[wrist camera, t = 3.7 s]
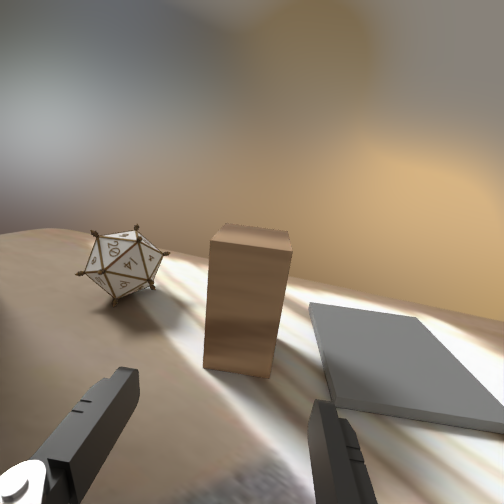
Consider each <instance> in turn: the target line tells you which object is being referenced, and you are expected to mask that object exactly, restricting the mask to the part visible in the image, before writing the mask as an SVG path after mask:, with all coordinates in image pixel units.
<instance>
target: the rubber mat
mask: <svg viewBox="0 0 504 504" xmlns="http://www.w3.org/2000/svg"><path fill="white" fill-rule="evenodd" d="M308 310H309V313H310V317H311V321H312V325H313V329H314V333H315V336H316V340H317V344H318V348H319V352H320V356H321V360H322V363H323V367H324V371H325V375H326V379H327V383H328V386H329V390H330V394H331V398H332V402H333V403H334V404H335V407H340V408H346V409H352V410H359V411H365V412H371V413H377V414H383V415H389V416H396V417H402V418H408V419H414V420H420V421H426V422H433V423H439V424H445V425H451V426H457V427H463V428H470V429H476V430H482V431H488V432H494V433H500V434H504V406H503V405H502V404H501V403H500V402H499V401H498V400H497V399H496V398H495V397H494V396H493V395H492V394H491V393H490V392H489V391H488V390H487V389H486V388H485V387H484V386H483V385H482V384H481V383H480V382H479V381H478V380H477V379H476V378H475V377H474V376H473V375H472V374H471V373H470V372H469V371H468V370H467V369H466V368H465V367H464V366H463V365H462V364H461V363H460V362H459V361H458V360H457V359H456V358H455V356H454V355H453V354H452V353H451V352H450V351H449V350H448V349H447V348H446V347H445V346H444V345H443V344H442V343H441V342H440V341H439V340H438V339H437V338H436V337H435V336H434V335H433V334H432V333H431V332H430V331H429V330H428V329H427V328H426V327H425V326H424V325H423V324H422V323H421V322H420V321H419V320H418V319H417V318H416V317H409V316H402V315H395V314H388V313H381V312H374V311H368V310H361V309H354V308H347V307H340V306H333V305H326V304H319V303H312V302H310V304H309V308H308Z"/></svg>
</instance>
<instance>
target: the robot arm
mask: <svg viewBox="0 0 504 504" xmlns="http://www.w3.org/2000/svg"><path fill="white" fill-rule="evenodd" d="M139 396H140V387H139V372H138V369H133V368H127V367H119V368H118V369H117V370H116V371H115V372H114V374H113V375H112V376H111V378H110V379H108V378H103V379H102V380H100V381H99V382H97V383H96V384H95V385H93V386H92V387H91V388H90V389H89V390H88V391H87V392H86V393H85V395H84V396H83V397H82V398H81V400H80V402H78V403H77V404H76V405H75V406H74V408H73V409H72V411H71V412H69V414H68V415H67V416H66V417H65V418H64V419H63V421H62V422H61V423H60V424H59V425H58V427H57V428H56V429H55V430H54V431H53V432H52V434H51V435H50V436H49V437H48V438H47V440H46V441H45V442H44V443H43V444H42V445H41V447H40V448H39V449H38V450H37V451H36V453H35V454H34V455H33V456H32V457H31V458H30V459H29V460H28V461H25V462H23V463H20V464H18V465H16V466H14V467H12V468H11V469H9V470H8V471H6V472H5V473H4V474H3V475H1V476H0V504H80V503H81V501H82V499H83V498H84V496H85V494H86V493H87V491H88V489H89V487H90V486H91V484H92V482H93V481H94V479H95V477H96V475H97V474H98V472H99V470H100V468H101V467H102V465H103V463H104V462H105V460H106V458H107V456H108V455H109V453H110V451H111V450H112V448H113V446H114V444H115V443H116V441H117V439H118V438H119V436H120V434H121V432H122V431H123V429H124V427H125V426H126V424H127V422H128V420H129V419H130V417H131V415H132V413H133V412H134V410H135V408H136V406H137V403H138V400H139ZM308 444H309V452H310V459H311V467H312V475H313V483H314V490H315V498H316V504H378V503H377V500H376V497H375V494H374V490H373V487H372V484H371V481H370V478H369V475H368V471H367V468H366V465H365V464H364V459H363V455H362V452H361V451H360V446H359V443H358V439H357V436H356V433H355V431H354V430H353V428H352V427H351V425H350V424H349V422H348V421H347V419H343V418H338V415H337V411H336V407H335V404H334V403H333V402H330V401H323V400H317V399H316V400H315V401H314V405H313V408H312V412H311V415H310V419H309V423H308Z"/></svg>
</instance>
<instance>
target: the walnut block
mask: <svg viewBox="0 0 504 504" xmlns="http://www.w3.org/2000/svg"><path fill="white" fill-rule="evenodd" d="M292 252H293V251H292V247H291V243H290V239H289V235H288V231H281V230H274V229H266V228H259V227H251V226H244V225H235V224H229V223H226V224H225V225H224V226H223V227H222V228H221V229H220V230H219V231H218V232H217V233H216V234H215V236H214V237H213V238H212V239H211V240H210V253H209V270H208V287H207V304H206V321H205V338H204V355H203V368H206V369H212V370H219V371H225V372H231V373H237V374H244V375H250V376H256V377H263V378H269V377H270V372H271V367H272V361H273V356H274V350H275V345H276V339H277V334H278V329H279V323H280V318H281V312H282V307H283V301H284V296H285V290H286V285H287V280H288V274H289V268H290V263H291V258H292Z"/></svg>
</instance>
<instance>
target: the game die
mask: <svg viewBox="0 0 504 504" xmlns="http://www.w3.org/2000/svg"><path fill="white" fill-rule="evenodd" d="M138 228H139V226H138V224H137V225H136V226H135V227H134V230H132V231H126V232H120V233H113V234H106V235H100V236H99V235H98V233H97V232H96V231H92V230H91V235H93V236H95V237H96V240H95V243H94V246H93V249H92V251H91V254H90V257H89V260H88V263H87V265H86V268H85V271H80V272H79V271H78V272H77V273H76V274H75V275H77V276H83V275H84V274H86V275H87V276H88V277H89V278H90V279H92V280H93V281H94V282H95V283H96V284H98V285H99V286H100V287H101V288H102V289H104V290H105V291H106V292H107V293H108V294H110V295H111V296H112V297H113V298H114V300H113V303H112V304H113V307H114V306H115V305H117V302H118V299H119V298H121V297H124V296H127V295H129V294H132V293H134V292H137V291H139V290H142V289H145V288H147V287H150V288H151V290H155V286H154V278H155V275H156V273H157V271H158V268H159V266H160V263H161V261H162V258H163V256H167V255H169V254H170V252H165V253H162V252H161V251H160V250H159V249H157V248H156V247H155V246H154V245H153V244H152V243H151V242H149V241H148V240H147V239H146V238H145V237H144V236H142V235H141V234H140V233H139V232H138V231H137V230H138Z"/></svg>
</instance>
